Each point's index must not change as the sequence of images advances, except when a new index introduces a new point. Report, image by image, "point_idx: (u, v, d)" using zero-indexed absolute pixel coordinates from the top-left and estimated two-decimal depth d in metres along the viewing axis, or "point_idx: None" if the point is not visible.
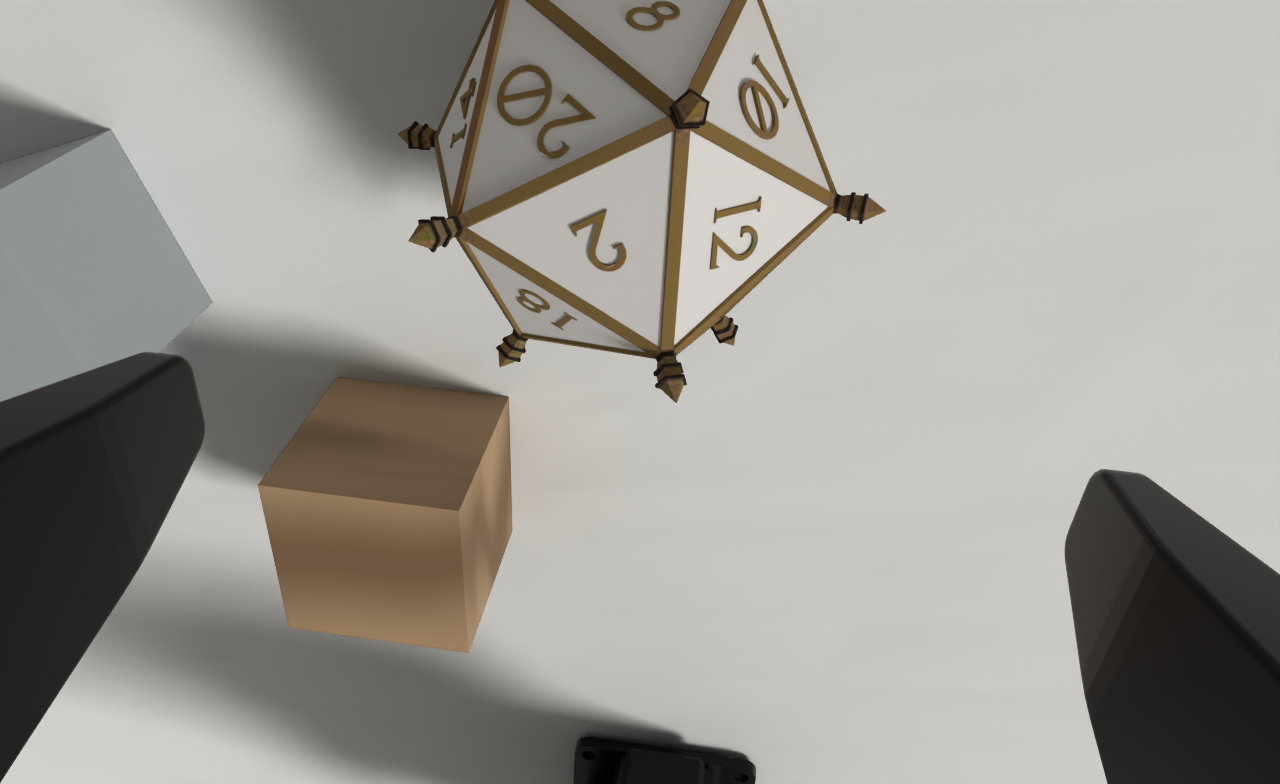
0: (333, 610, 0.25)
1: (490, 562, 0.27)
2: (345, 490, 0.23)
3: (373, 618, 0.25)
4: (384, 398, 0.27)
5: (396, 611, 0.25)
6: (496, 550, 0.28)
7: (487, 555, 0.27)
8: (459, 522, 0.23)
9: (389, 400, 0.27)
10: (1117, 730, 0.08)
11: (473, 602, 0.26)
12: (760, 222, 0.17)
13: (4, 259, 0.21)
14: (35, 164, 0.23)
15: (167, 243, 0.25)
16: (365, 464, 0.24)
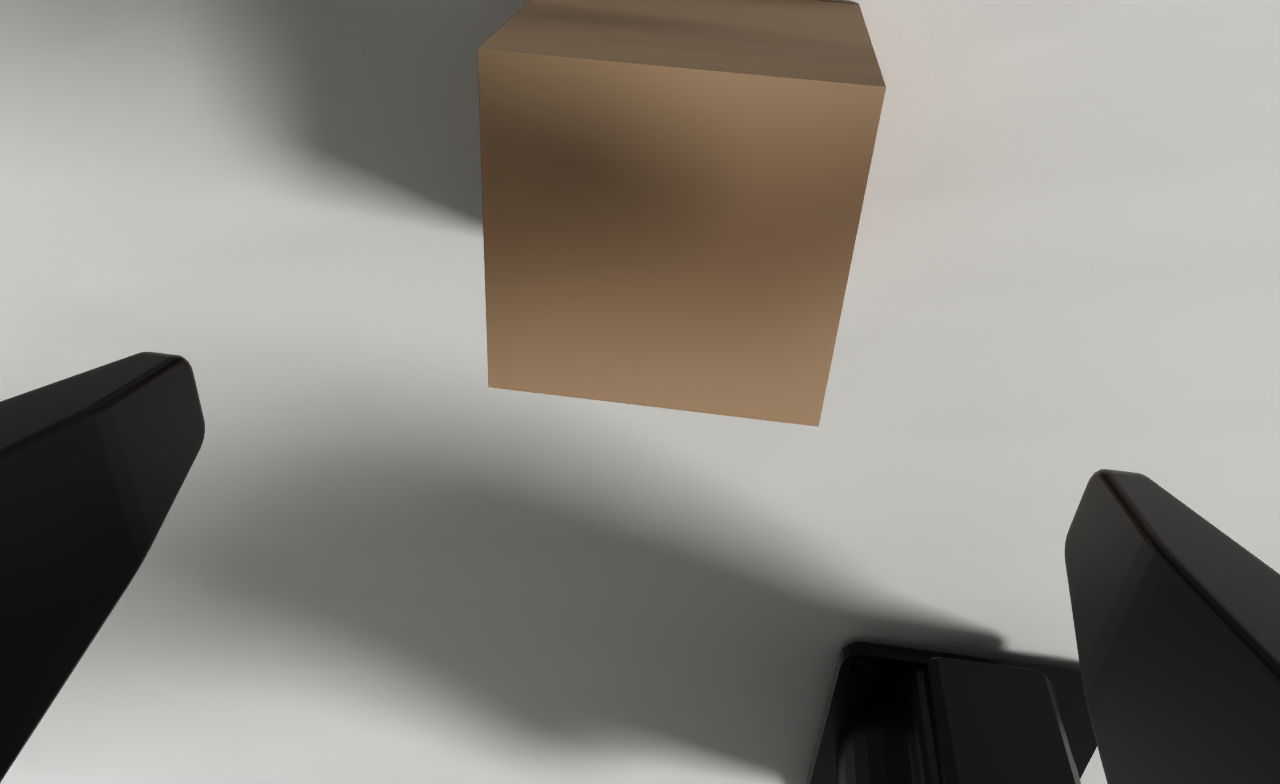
0: (577, 345, 0.14)
1: None
2: (648, 60, 0.12)
3: (652, 358, 0.14)
4: None
5: (699, 340, 0.14)
6: None
7: None
8: (877, 118, 0.12)
9: None
10: (1117, 730, 0.08)
11: None
12: None
13: None
14: None
15: None
16: (665, 41, 0.13)
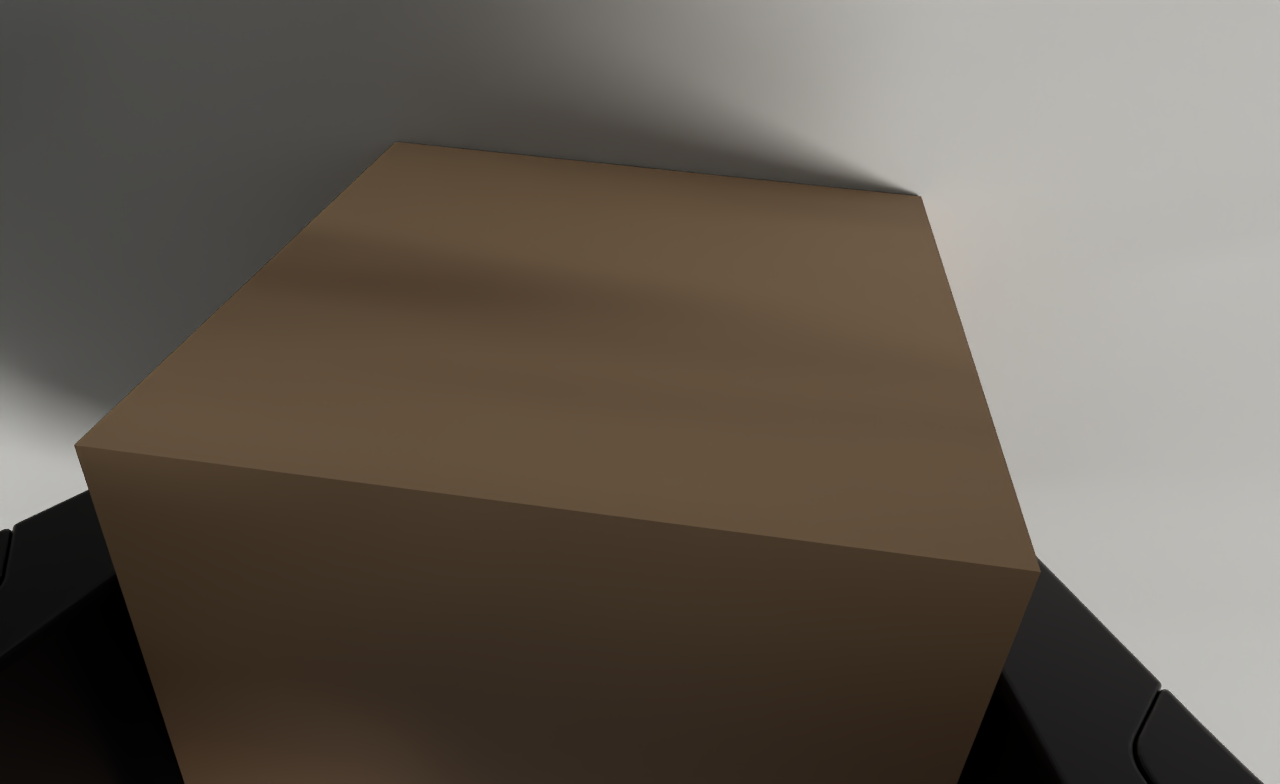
0: None
1: None
2: (476, 471, 0.05)
3: None
4: (549, 192, 0.08)
5: None
6: None
7: None
8: (1015, 623, 0.05)
9: (566, 196, 0.08)
10: None
11: None
12: None
13: None
14: None
15: None
16: (536, 371, 0.06)
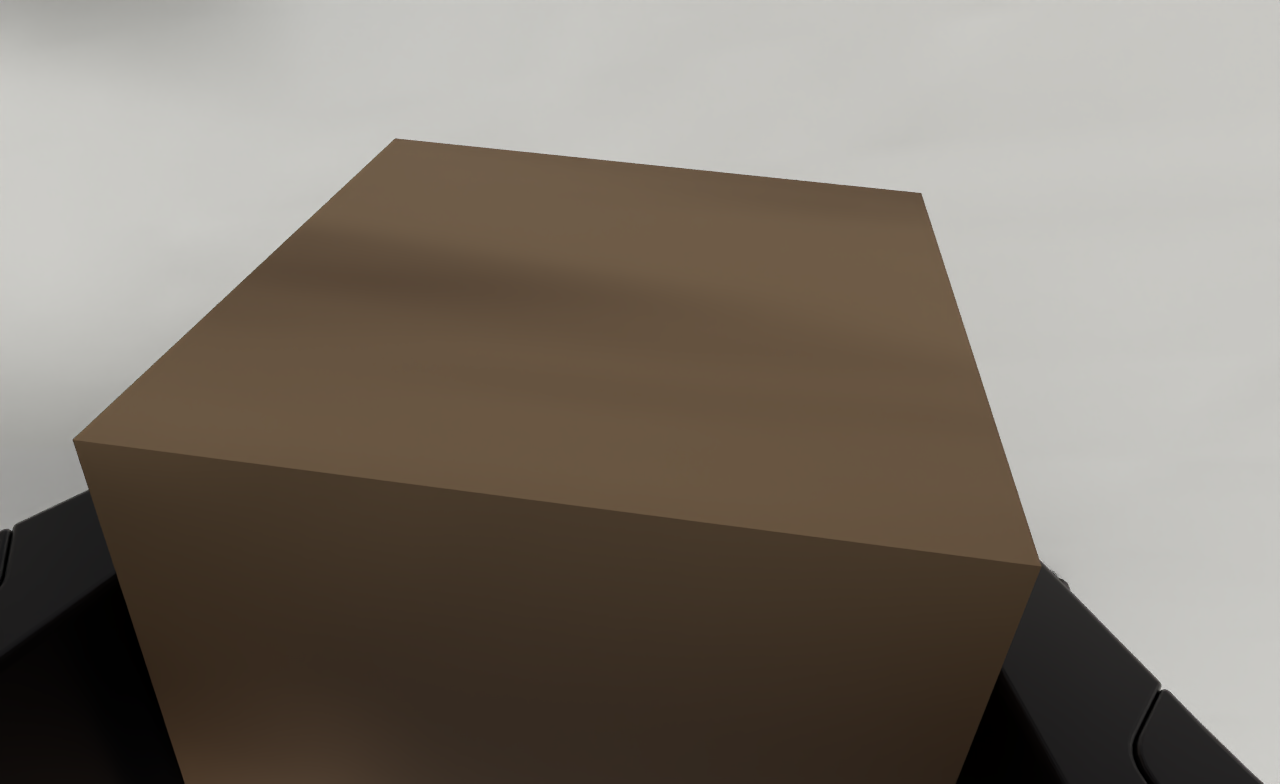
0: None
1: None
2: (475, 465, 0.05)
3: None
4: (549, 188, 0.08)
5: None
6: None
7: None
8: (1015, 618, 0.05)
9: (566, 193, 0.08)
10: None
11: None
12: None
13: None
14: None
15: None
16: (538, 367, 0.06)
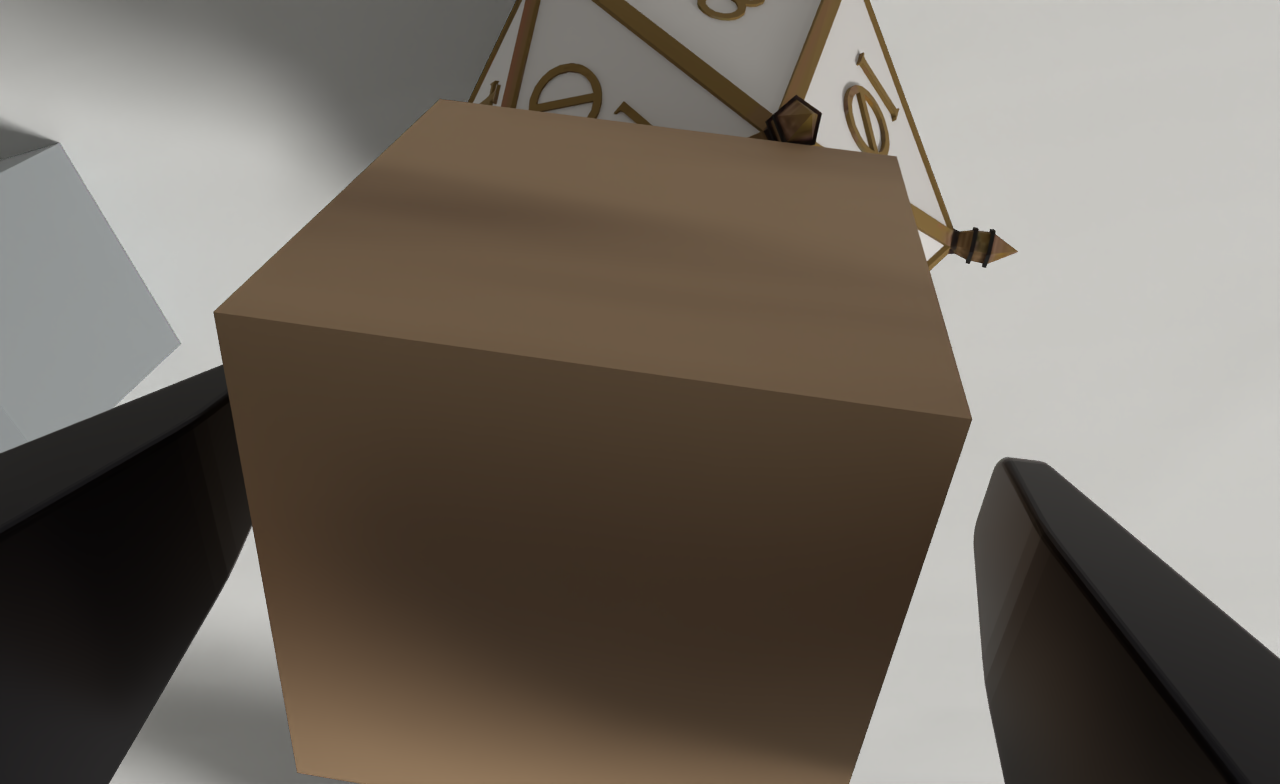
0: (433, 734, 0.09)
1: None
2: (532, 339, 0.06)
3: (554, 761, 0.09)
4: (577, 142, 0.10)
5: (630, 744, 0.08)
6: None
7: None
8: (953, 465, 0.06)
9: (591, 146, 0.10)
10: (1010, 715, 0.08)
11: None
12: None
13: None
14: None
15: (127, 276, 0.21)
16: (575, 274, 0.07)
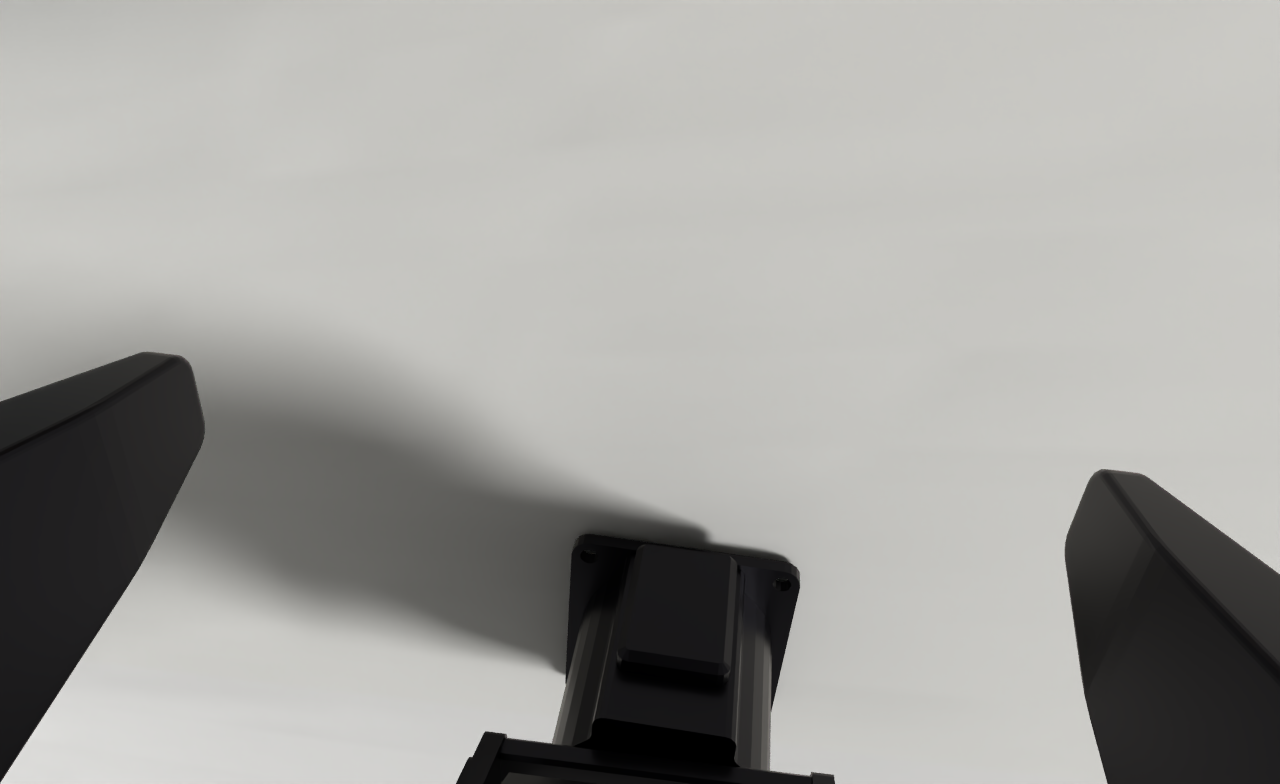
0: None
1: None
2: None
3: None
4: None
5: None
6: None
7: None
8: None
9: None
10: (1117, 730, 0.08)
11: None
12: None
13: None
14: None
15: None
16: None
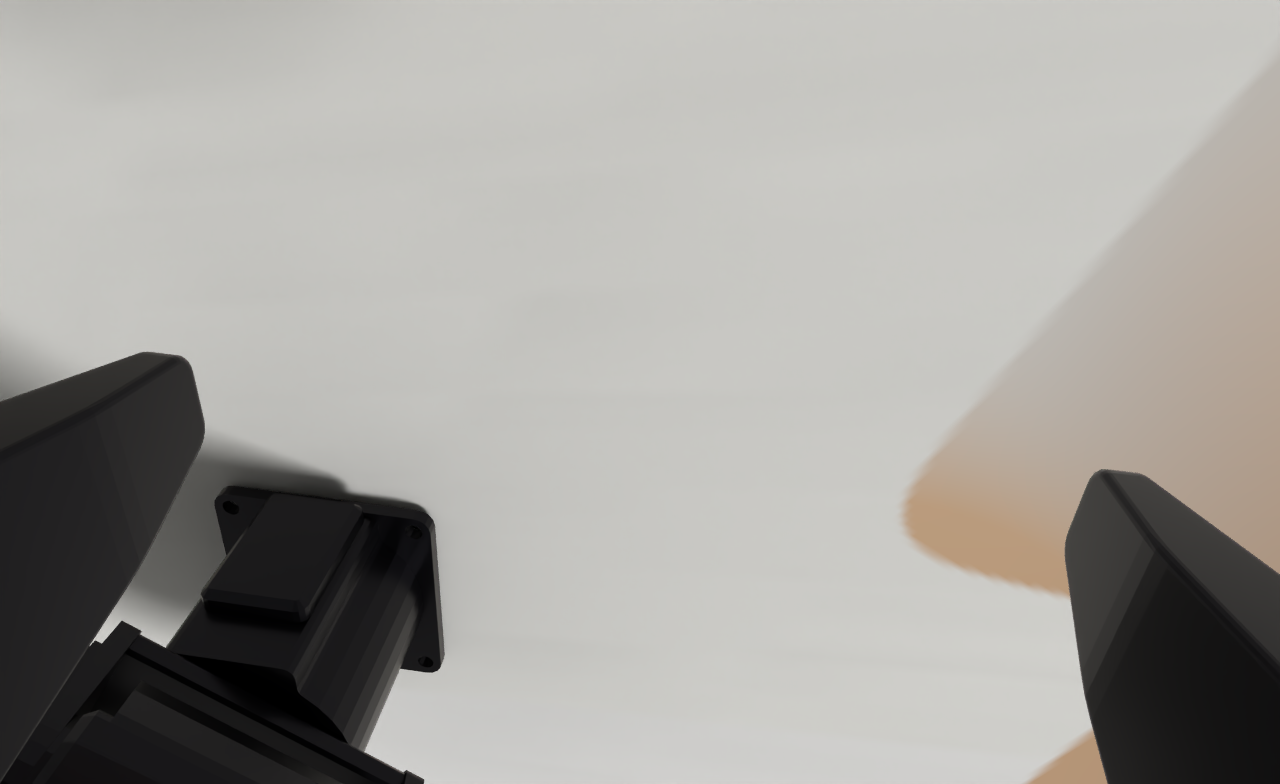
0: None
1: None
2: None
3: None
4: None
5: None
6: None
7: None
8: None
9: None
10: (1117, 730, 0.08)
11: None
12: None
13: None
14: None
15: None
16: None
